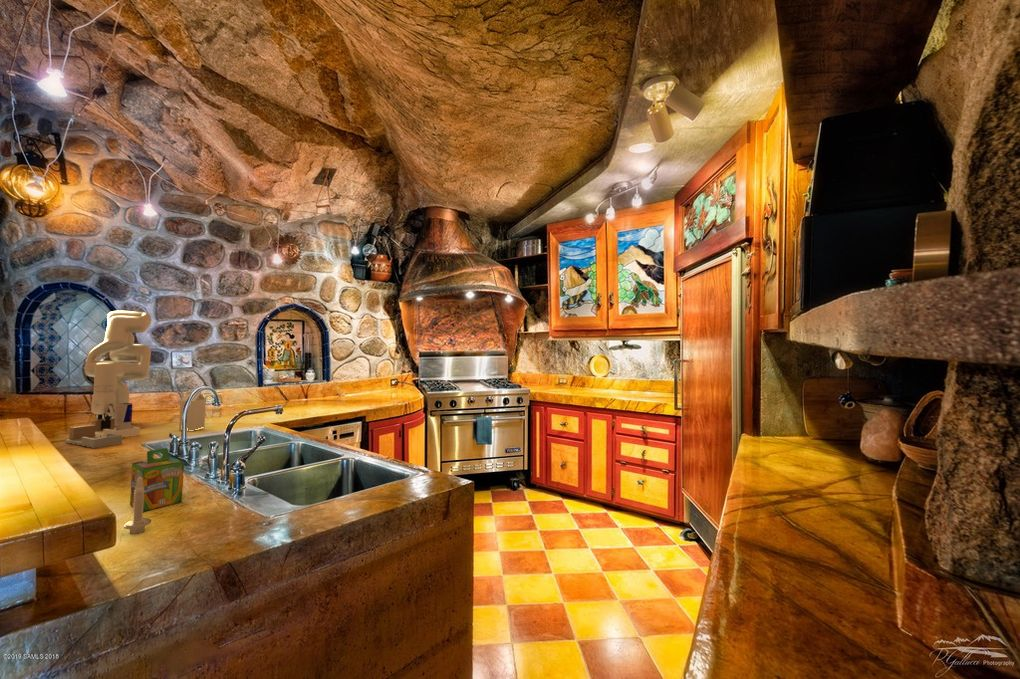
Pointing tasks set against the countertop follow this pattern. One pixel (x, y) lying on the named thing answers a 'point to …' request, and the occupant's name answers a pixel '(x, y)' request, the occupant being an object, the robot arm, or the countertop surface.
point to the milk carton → (194, 412)
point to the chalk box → (158, 480)
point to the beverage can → (124, 416)
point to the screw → (138, 510)
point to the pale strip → (114, 429)
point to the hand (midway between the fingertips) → (103, 428)
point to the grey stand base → (91, 437)
